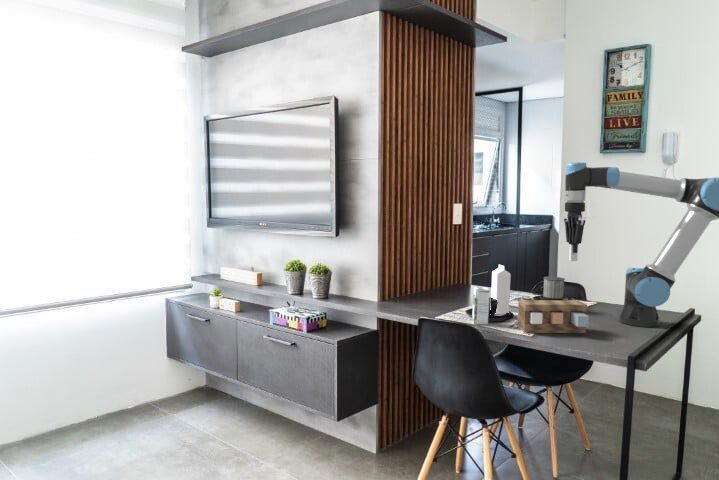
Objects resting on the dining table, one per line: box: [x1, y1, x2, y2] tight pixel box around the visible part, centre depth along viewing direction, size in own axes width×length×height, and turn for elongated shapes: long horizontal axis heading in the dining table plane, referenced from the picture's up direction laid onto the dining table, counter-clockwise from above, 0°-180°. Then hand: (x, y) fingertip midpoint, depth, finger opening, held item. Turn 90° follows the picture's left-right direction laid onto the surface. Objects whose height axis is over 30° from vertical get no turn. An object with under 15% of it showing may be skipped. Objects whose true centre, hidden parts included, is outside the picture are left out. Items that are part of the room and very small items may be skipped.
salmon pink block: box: [549, 311, 563, 324], centre depth 214 cm, size 4×9×4 cm, turn 3°
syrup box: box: [471, 286, 491, 325], centre depth 225 cm, size 6×6×14 cm
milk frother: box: [525, 275, 566, 300], centre depth 253 cm, size 14×16×15 cm
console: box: [516, 299, 588, 334], centre depth 216 cm, size 24×8×11 cm, turn 93°
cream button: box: [529, 311, 543, 324], centre depth 214 cm, size 4×9×4 cm, turn 3°
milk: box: [490, 264, 512, 314], centre depth 238 cm, size 6×6×22 cm
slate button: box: [570, 311, 590, 328], centre depth 210 cm, size 4×9×4 cm, turn 3°
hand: (573, 260), depth 222 cm, fingers closed
